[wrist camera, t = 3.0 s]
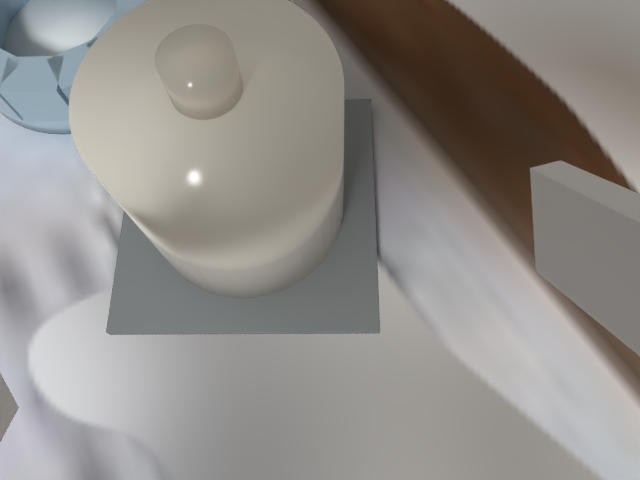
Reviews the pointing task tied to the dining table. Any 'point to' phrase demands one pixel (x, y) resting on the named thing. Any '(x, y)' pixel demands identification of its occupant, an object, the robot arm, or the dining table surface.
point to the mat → (276, 309)
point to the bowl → (48, 55)
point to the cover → (219, 137)
